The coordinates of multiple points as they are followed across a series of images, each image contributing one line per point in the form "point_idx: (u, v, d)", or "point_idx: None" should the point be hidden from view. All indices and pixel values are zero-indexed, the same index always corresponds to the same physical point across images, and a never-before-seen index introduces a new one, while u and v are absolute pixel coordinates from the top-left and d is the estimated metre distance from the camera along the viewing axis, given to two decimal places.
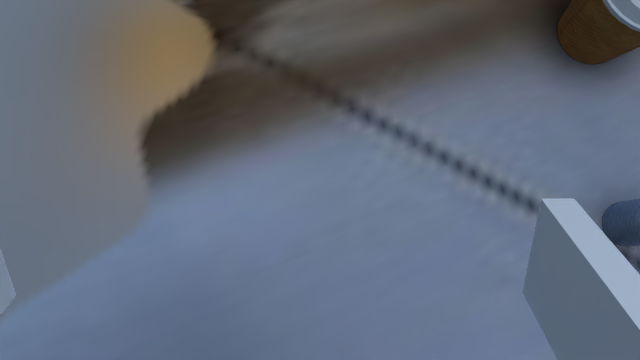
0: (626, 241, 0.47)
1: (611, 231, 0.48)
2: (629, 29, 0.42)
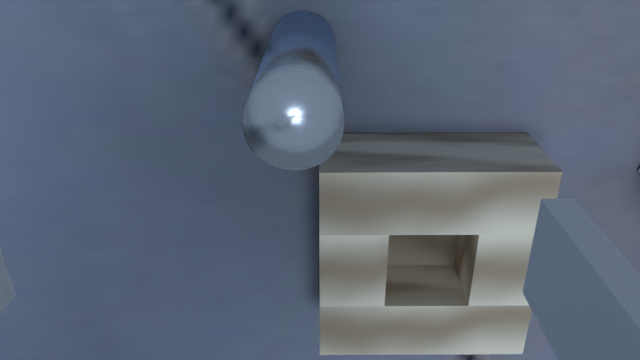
0: None
1: None
2: None
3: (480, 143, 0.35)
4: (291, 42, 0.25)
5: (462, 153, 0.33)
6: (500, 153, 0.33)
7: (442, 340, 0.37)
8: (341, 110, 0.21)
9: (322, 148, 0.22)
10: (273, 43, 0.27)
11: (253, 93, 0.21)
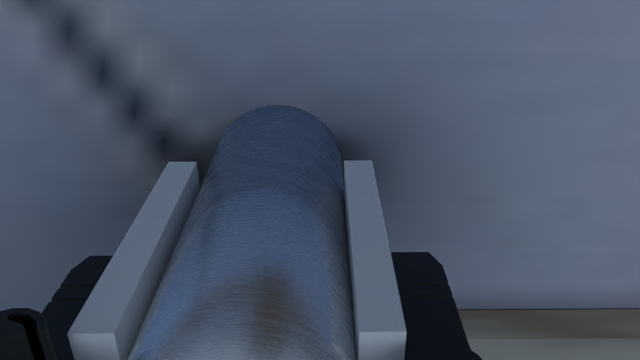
0: None
1: None
2: None
3: (617, 344, 0.18)
4: (221, 279, 0.09)
5: None
6: None
7: None
8: None
9: None
10: (187, 243, 0.11)
11: None
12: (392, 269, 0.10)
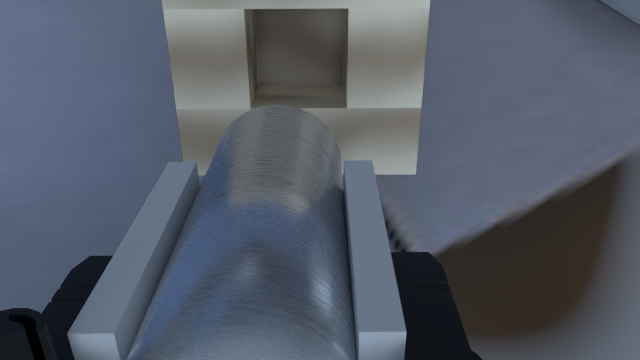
0: None
1: None
2: None
3: None
4: (221, 277, 0.09)
5: None
6: None
7: None
8: None
9: None
10: (187, 242, 0.11)
11: None
12: (392, 269, 0.10)
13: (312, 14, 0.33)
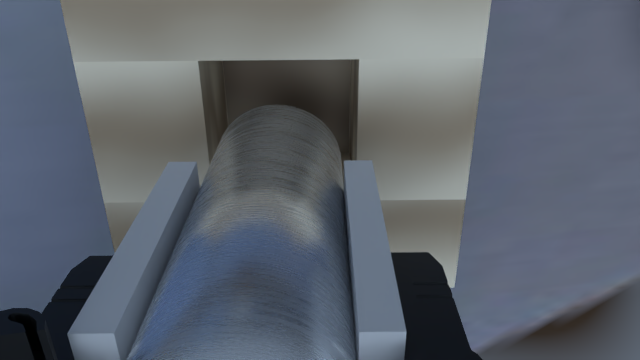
0: None
1: None
2: None
3: None
4: (221, 277, 0.09)
5: None
6: None
7: None
8: None
9: None
10: (187, 242, 0.11)
11: None
12: (392, 269, 0.10)
13: None
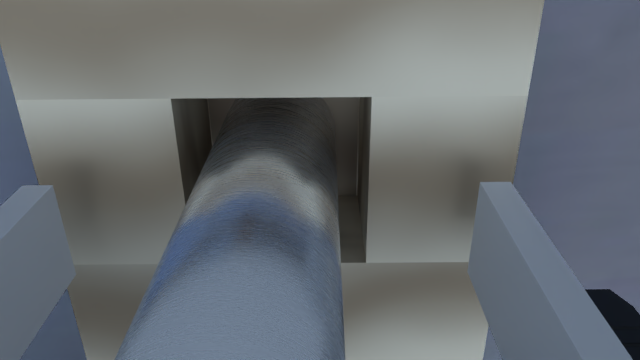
0: None
1: None
2: None
3: None
4: (235, 195, 0.11)
5: None
6: None
7: None
8: None
9: None
10: (206, 177, 0.13)
11: None
12: (600, 315, 0.09)
13: None
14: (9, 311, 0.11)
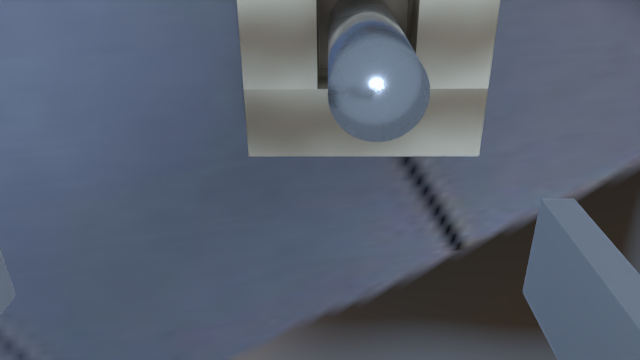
0: None
1: (328, 24, 0.33)
2: None
3: None
4: (365, 17, 0.25)
5: None
6: None
7: None
8: (427, 80, 0.21)
9: (406, 119, 0.22)
10: (343, 19, 0.27)
11: (340, 63, 0.21)
12: None
13: None
14: None
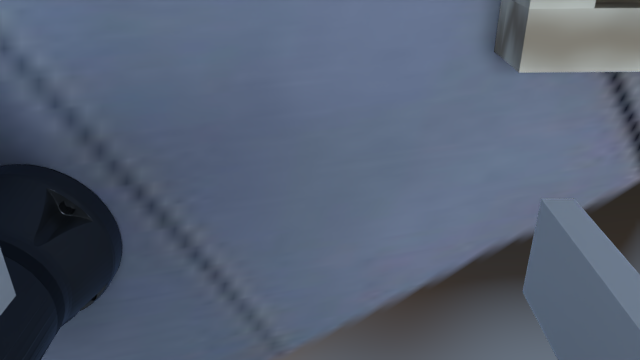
0: None
1: None
2: None
3: None
4: None
5: None
6: None
7: None
8: None
9: None
10: None
11: None
12: None
13: None
14: None
